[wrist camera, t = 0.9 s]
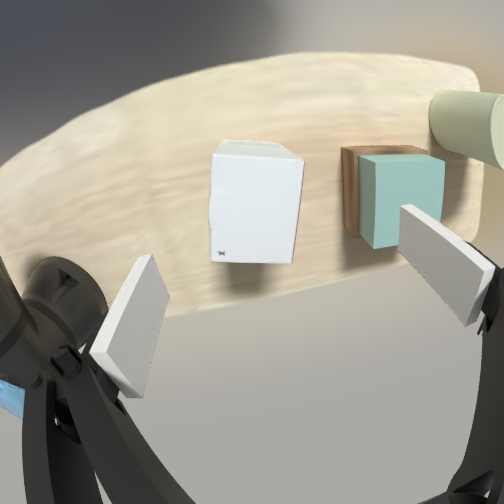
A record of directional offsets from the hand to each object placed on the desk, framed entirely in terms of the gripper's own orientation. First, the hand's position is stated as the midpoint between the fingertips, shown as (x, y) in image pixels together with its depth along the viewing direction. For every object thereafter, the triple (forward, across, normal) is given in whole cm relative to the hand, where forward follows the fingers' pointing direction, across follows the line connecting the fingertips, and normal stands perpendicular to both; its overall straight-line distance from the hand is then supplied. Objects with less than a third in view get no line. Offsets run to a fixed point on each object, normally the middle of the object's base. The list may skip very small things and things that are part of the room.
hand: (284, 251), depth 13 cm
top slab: (+15, +15, -4) cm, 21 cm away
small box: (+19, -1, 0) cm, 19 cm away
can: (+18, +28, +5) cm, 34 cm away
